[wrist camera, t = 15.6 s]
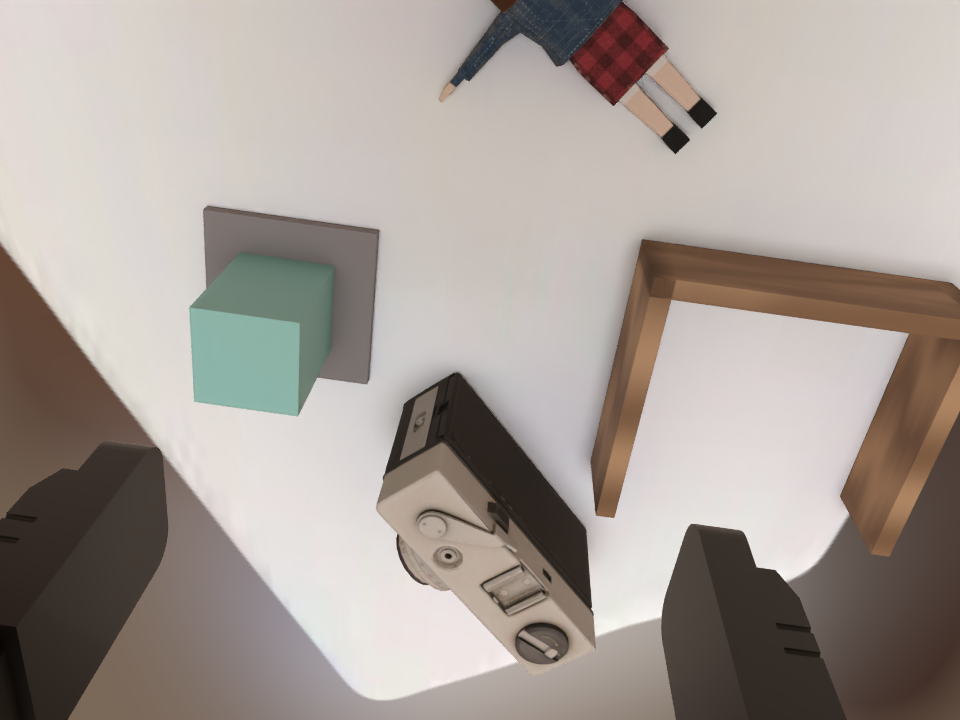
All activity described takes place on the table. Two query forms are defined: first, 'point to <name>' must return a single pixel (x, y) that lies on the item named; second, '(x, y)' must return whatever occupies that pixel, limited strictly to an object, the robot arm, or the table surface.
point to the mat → (314, 244)
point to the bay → (811, 295)
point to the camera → (488, 527)
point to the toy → (595, 55)
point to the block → (262, 333)
